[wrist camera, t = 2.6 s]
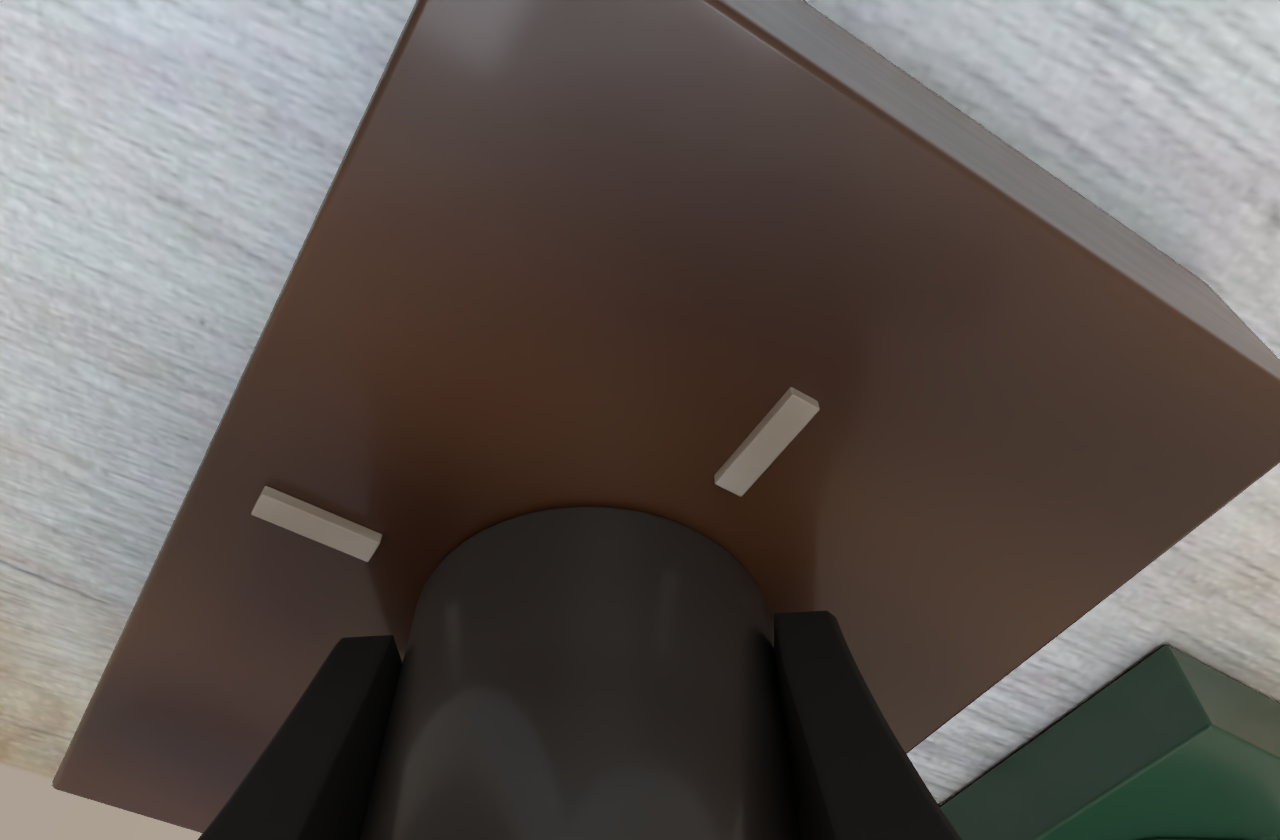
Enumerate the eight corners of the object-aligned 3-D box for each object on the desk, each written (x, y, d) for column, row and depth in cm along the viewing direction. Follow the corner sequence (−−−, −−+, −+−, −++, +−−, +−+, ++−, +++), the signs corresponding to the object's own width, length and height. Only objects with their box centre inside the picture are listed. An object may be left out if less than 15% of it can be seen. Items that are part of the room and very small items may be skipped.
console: (637, 811, 20) (637, 975, 17) (133, 630, 17) (43, 799, 14) (1208, 283, 13) (1348, 429, 10) (526, -195, 10) (487, -154, 7)
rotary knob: (770, 737, 14) (822, 1155, 10) (451, 752, 14) (378, 1168, 10) (771, 491, 11) (843, 927, 7) (378, 514, 11) (239, 950, 7)
